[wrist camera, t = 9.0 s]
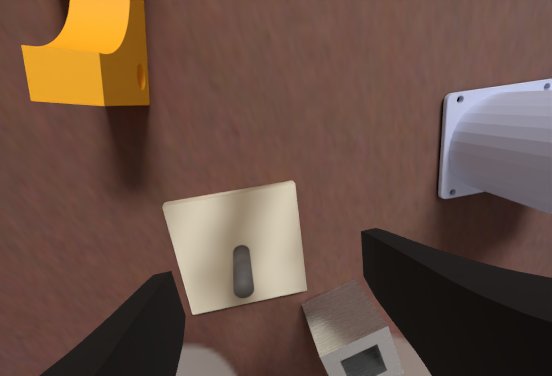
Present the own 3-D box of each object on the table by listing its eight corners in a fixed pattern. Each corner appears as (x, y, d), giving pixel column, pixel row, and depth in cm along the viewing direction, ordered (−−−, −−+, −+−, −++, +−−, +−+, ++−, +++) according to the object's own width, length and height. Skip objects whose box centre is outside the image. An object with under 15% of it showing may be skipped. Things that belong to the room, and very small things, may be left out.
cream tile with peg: (292, 180, 20) (311, 204, 15) (304, 284, 22) (323, 332, 18) (165, 202, 19) (142, 235, 14) (194, 307, 22) (183, 364, 17)
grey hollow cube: (354, 278, 23) (388, 325, 18) (370, 320, 25) (404, 374, 20) (301, 303, 23) (319, 357, 18) (320, 343, 25) (342, 403, 20)
